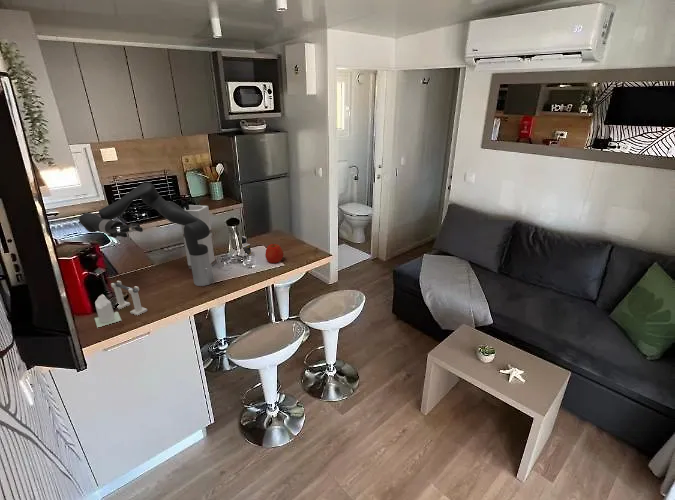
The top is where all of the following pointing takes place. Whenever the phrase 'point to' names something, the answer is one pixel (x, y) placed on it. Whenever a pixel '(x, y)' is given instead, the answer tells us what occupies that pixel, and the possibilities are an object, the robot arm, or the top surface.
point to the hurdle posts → (122, 303)
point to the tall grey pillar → (203, 215)
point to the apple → (274, 253)
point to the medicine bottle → (246, 245)
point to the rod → (125, 287)
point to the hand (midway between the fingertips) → (134, 232)
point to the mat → (100, 324)
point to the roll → (104, 309)
